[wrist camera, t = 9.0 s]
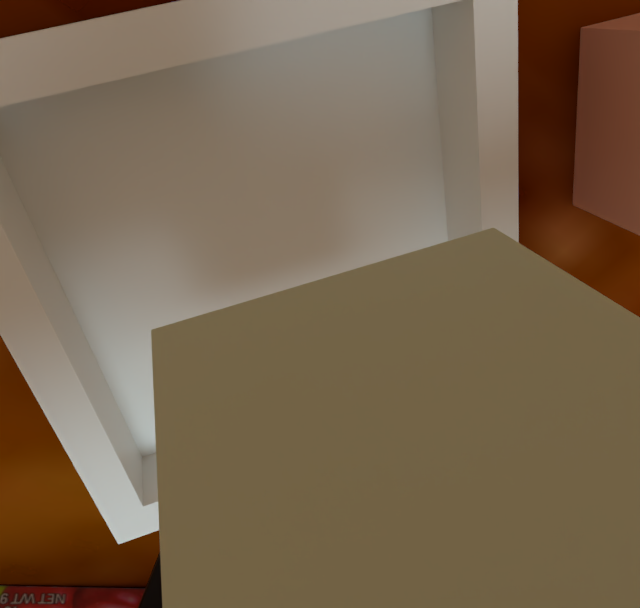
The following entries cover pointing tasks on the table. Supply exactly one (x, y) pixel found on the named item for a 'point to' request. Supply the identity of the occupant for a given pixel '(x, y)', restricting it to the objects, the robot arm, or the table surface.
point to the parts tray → (227, 183)
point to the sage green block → (404, 440)
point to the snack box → (69, 597)
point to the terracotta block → (609, 122)
